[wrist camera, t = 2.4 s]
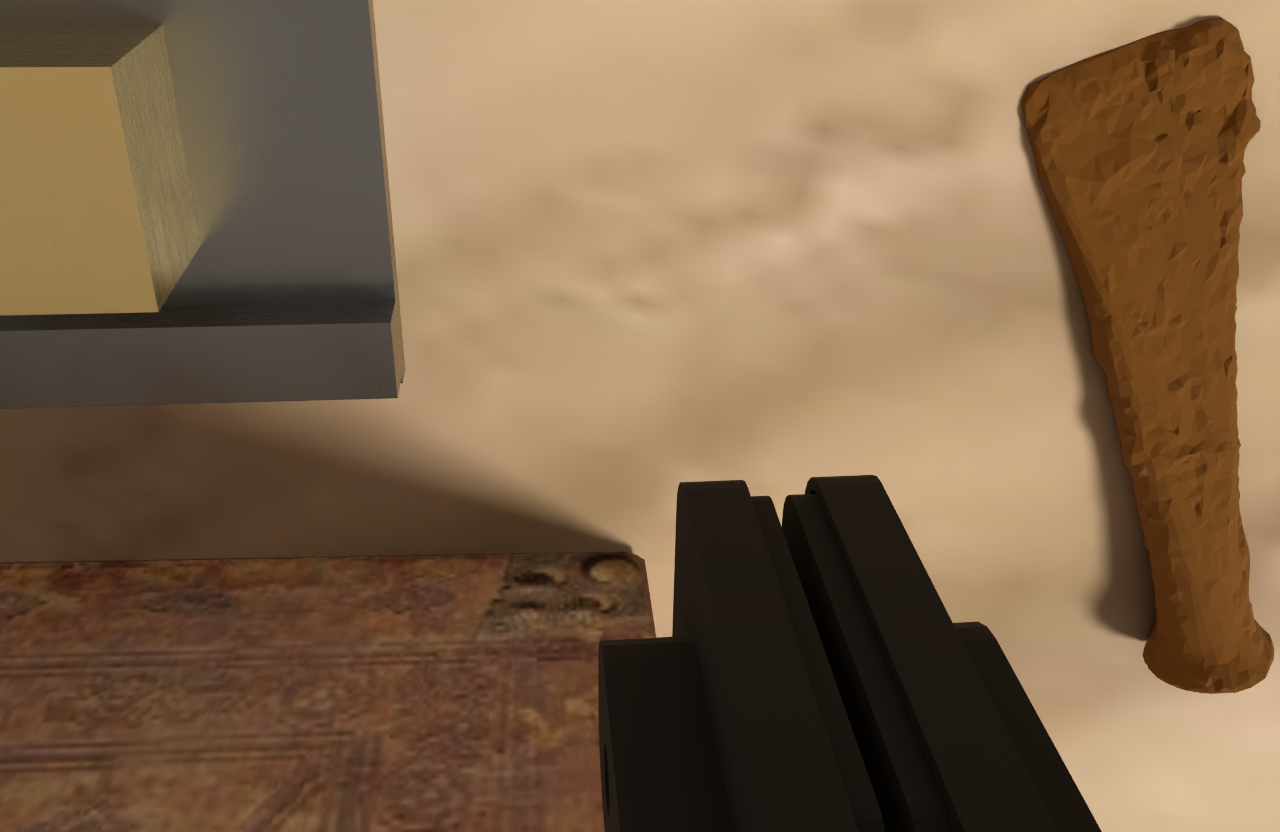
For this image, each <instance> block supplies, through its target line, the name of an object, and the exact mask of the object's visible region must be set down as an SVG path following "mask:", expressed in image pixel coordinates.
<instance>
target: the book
mask: <svg viewBox="0 0 1280 832" xmlns="http://www.w3.org/2000/svg"><path fill="white" fill-rule="evenodd" d="M642 638H656V633H655V626H654V620H653V613H652V607H651V600H650V593H649V587H648V580H647V573H646V567H645V560H644V559H642V558H640V557H639V556H637V555H635V554H630V553H625V552H587V553H534V554H481V555H428V556H375V557H322V558H269V559H216V560H162V561H109V562H56V563H3V564H0V832H605V829H604V817H603V804H602V790H601V773H600V751H599V714H598V650H599V642H600V641H602V640H622V639H642Z"/></svg>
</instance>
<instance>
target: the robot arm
mask: <svg viewBox="0 0 1280 832" xmlns="http://www.w3.org/2000/svg"><path fill="white" fill-rule="evenodd" d="M598 714H599V751H600V773H601V790H602V804H603V817H604V829H605V832H1102V831H1101V830H1100V828H1099V826H1098V824H1097V822H1096V820H1095V819H1094V817H1093V815H1092V813H1091V811H1090V810H1089V808H1088V806H1087V804H1086V802H1085V800H1084V799H1083V797H1082V795H1081V793H1080V791H1079V789H1078V788H1077V786H1076V784H1075V782H1074V780H1073V779H1072V777H1071V775H1070V773H1069V771H1068V769H1067V768H1066V766H1065V764H1064V762H1063V760H1062V758H1061V757H1060V755H1059V753H1058V751H1057V749H1056V748H1055V746H1054V744H1053V742H1052V740H1051V738H1050V737H1049V735H1048V733H1047V731H1046V729H1045V727H1044V726H1043V724H1042V722H1041V720H1040V718H1039V717H1038V715H1037V713H1036V711H1035V709H1034V707H1033V706H1032V704H1031V702H1030V700H1029V698H1028V696H1027V695H1026V693H1025V691H1024V689H1023V687H1022V686H1021V684H1020V682H1019V680H1018V678H1017V676H1016V675H1015V673H1014V671H1013V669H1012V667H1011V665H1010V664H1009V662H1008V660H1007V658H1006V656H1005V654H1004V653H1003V651H1002V649H1001V647H1000V645H999V644H998V642H997V640H996V638H995V637H994V636H993V634H992V633H991V631H990V630H989V629H988V627H987V626H985V625H983V624H981V623H979V622H964V623H952V621H951V619H950V617H949V615H948V613H947V611H946V609H945V607H944V605H943V603H942V601H941V599H940V597H939V595H938V593H937V591H936V589H935V587H934V585H933V583H932V581H931V579H930V578H929V576H928V574H927V572H926V570H925V568H924V566H923V564H922V562H921V560H920V558H919V556H918V554H917V552H916V550H915V548H914V546H913V544H912V542H911V540H910V538H909V536H908V534H907V532H906V530H905V528H904V526H903V524H902V522H901V520H900V519H899V517H898V515H897V513H896V511H895V509H894V507H893V505H892V503H891V501H890V499H889V497H888V495H887V493H886V491H885V489H884V487H883V485H882V483H881V481H880V480H879V479H878V477H877V476H874V475H860V476H834V477H811V478H810V480H809V481H808V483H807V486H806V490H805V494H802V495H788V496H787V497H786V499H785V502H784V509H783V519H782V527H781V524H780V521H779V519H778V516H777V513H776V510H775V507H774V504H773V501H772V499H771V497H769V496H752V497H751V496H750V493H749V490H748V487H747V485H746V482H745V481H743V480H730V481H704V482H680V484H679V487H678V493H677V511H676V542H675V573H674V604H673V635H672V637H662V638H642V639H622V640H602V641H600V642H599V650H598Z"/></svg>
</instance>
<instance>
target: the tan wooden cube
mask: <svg viewBox="0 0 1280 832" xmlns="http://www.w3.org/2000/svg"><path fill="white" fill-rule="evenodd" d="M199 247H200V242H199V236H198V230H197V224H196V219H195V213H194V207H193V201H192V195H191V189H190V184H189V178H188V172H187V166H186V160H185V155H184V149H183V143H182V137H181V131H180V125H179V120H178V114H177V108H176V102H175V96H174V90H173V85H172V79H171V73H170V67H169V61H168V56H167V50H166V44H165V38H164V32H163V26H162V25H0V315H47V314H95V313H144V312H159V311H160V309H161V307H162V306H163V304H164V303H165V301H166V299H167V298H168V296H169V295H170V293H171V291H172V290H173V288H174V287H175V285H176V283H177V282H178V280H179V279H180V277H181V276H182V274H183V272H184V271H185V269H186V268H187V266H188V264H189V263H190V261H191V260H192V258H193V256H194V255H195V253H196V252H197V250H198V248H199Z"/></svg>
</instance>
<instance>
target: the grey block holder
mask: <svg viewBox="0 0 1280 832" xmlns="http://www.w3.org/2000/svg"><path fill="white" fill-rule="evenodd" d="M0 25H162V26H163V32H164V38H165V44H166V50H167V56H168V61H169V67H170V73H171V79H172V85H173V90H174V96H175V102H176V108H177V114H178V120H179V125H180V131H181V137H182V143H183V149H184V155H185V160H186V166H187V172H188V178H189V184H190V189H191V195H192V201H193V207H194V213H195V219H196V224H197V230H198V236H199V242H200V247H199V248H198V250H197V252H196V253H195V255H194V256H193V258H192V260H191V261H190V263H189V264H188V266H187V268H186V269H185V271H184V272H183V274H182V276H181V277H180V279H179V280H178V282H177V283H176V285H175V287H174V288H173V290H172V291H171V293H170V295H169V296H168V298H167V299H166V301H165V303H164V304H163V306H162V307H161V309H160V311H159V312H144V313H95V314H47V315H0V409H6V408H44V407H81V406H119V405H156V404H194V403H231V402H269V401H307V400H344V399H382V398H398V393H399V388H400V383H403V379H404V374H405V362H404V350H403V339H402V328H401V317H400V305H399V294H398V283H397V271H396V260H395V249H394V237H393V226H392V215H391V204H390V192H389V181H388V170H387V158H386V147H385V136H384V124H383V113H382V102H381V91H380V79H379V68H378V57H377V45H376V34H375V23H374V12H373V0H0Z"/></svg>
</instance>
